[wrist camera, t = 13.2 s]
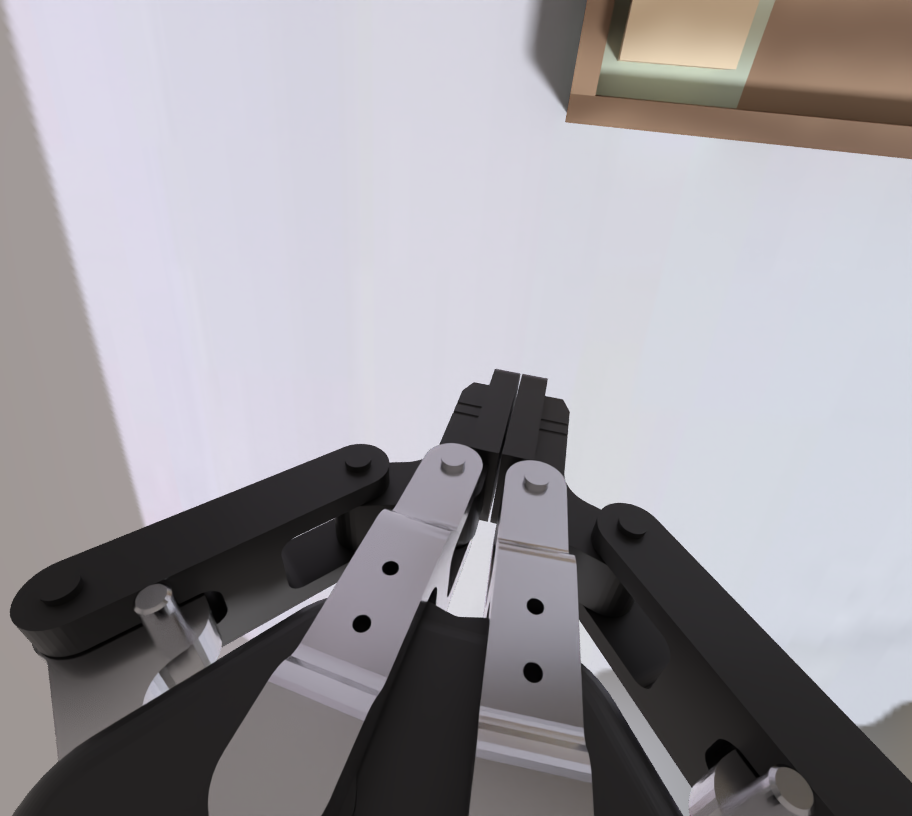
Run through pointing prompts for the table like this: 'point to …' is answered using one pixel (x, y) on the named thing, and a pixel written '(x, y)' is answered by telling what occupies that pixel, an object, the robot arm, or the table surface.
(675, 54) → the beech block
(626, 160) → the table surface
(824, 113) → the box
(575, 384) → the table surface
